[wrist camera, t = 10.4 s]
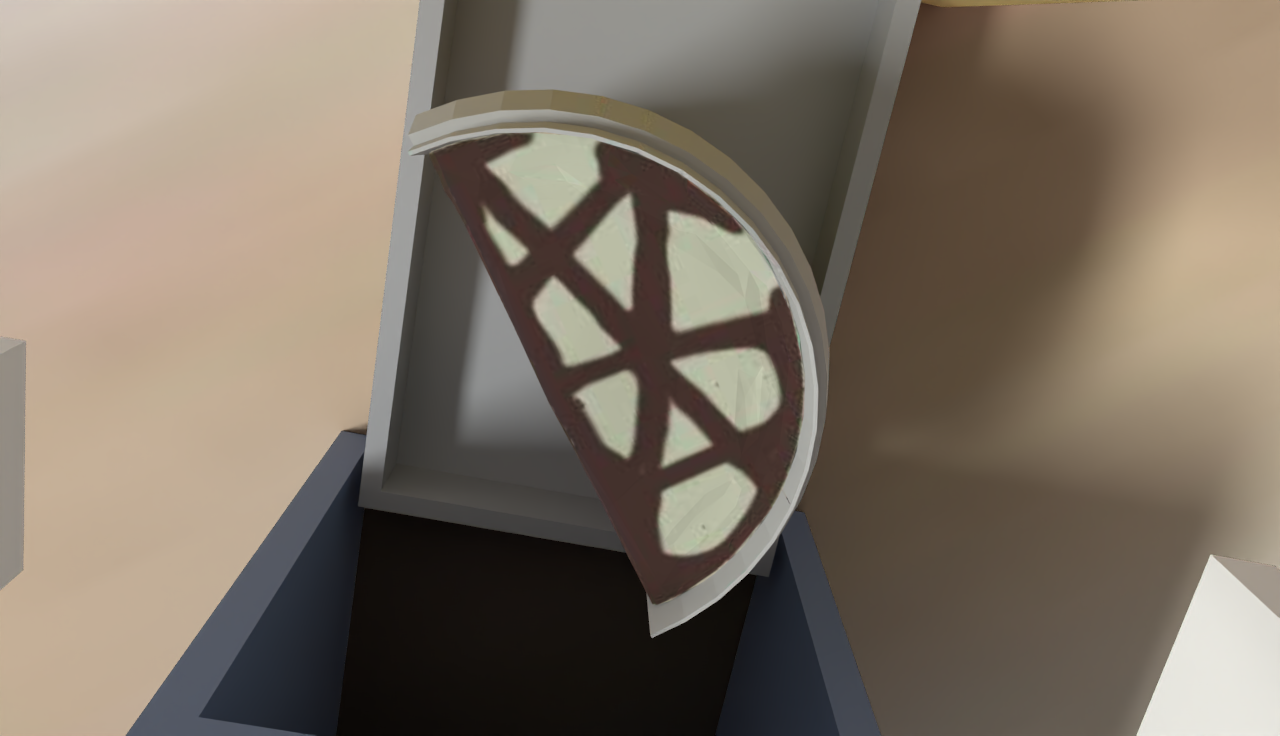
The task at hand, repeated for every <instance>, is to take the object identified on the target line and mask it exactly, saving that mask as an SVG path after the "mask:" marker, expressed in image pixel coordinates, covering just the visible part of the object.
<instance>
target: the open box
mask: <svg viewBox="0 0 1280 736" xmlns="http://www.w3.org/2000/svg"><path fill="white" fill-rule="evenodd" d="M366 436H367V435H362V434H357V433H351V432H345V431H341V433H340V434H339V435H338V437H337V438H336V440H335V441H334V442H333V444H332V445H331V447H330V448H329V450H328V451H327V452H326V454H325V455H324V457H323V458H322V459H321V461H320V462H319V464H318V465H317V466H316V468H315V469H314V471H313V472H312V474H311V475H310V476H309V478H308V479H307V481H306V482H305V483H304V485H303V486H302V488H301V489H300V490H299V492H298V493H297V495H296V496H295V497H294V499H293V500H292V502H291V503H290V505H289V506H288V507H287V509H286V510H285V512H284V513H283V514H282V516H281V517H280V519H279V520H278V521H277V523H276V524H275V526H274V527H273V529H272V530H271V531H270V533H269V534H268V536H267V537H266V538H265V540H264V541H263V543H262V544H261V545H260V547H259V548H258V550H257V551H256V553H255V554H254V555H253V557H252V558H251V560H250V561H249V562H248V564H247V565H246V567H245V568H244V569H243V571H242V572H241V574H240V575H239V577H238V578H237V579H236V581H235V582H234V584H233V585H232V586H231V588H230V589H229V591H228V592H227V593H226V595H225V596H224V598H223V599H222V600H221V602H220V603H219V605H218V606H217V608H216V609H215V610H214V612H213V613H212V615H211V616H210V617H209V619H208V620H207V622H206V623H205V624H204V626H203V627H202V629H201V630H200V632H199V633H198V634H197V636H196V637H195V639H194V640H193V641H192V643H191V644H190V646H189V647H188V648H187V650H186V651H185V653H184V654H183V656H182V657H181V658H180V660H179V661H178V663H177V664H176V665H175V667H174V668H173V670H172V671H171V672H170V674H169V675H168V677H167V678H166V680H165V681H164V682H163V684H162V685H161V687H160V688H159V689H158V691H157V692H156V694H155V695H154V696H153V698H152V699H151V701H150V702H149V703H148V705H147V706H146V708H145V709H144V711H143V712H142V713H141V715H140V716H139V718H138V719H137V720H136V722H135V723H134V725H133V726H132V727H131V729H130V730H129V732H128V733H127V735H126V736H336V733H337V725H338V717H339V709H340V701H341V693H342V685H343V677H344V669H345V661H346V653H347V645H348V637H349V628H350V620H351V612H352V604H353V596H354V588H355V580H356V572H357V564H358V556H359V548H360V540H361V532H362V524H363V516H364V507H359V506H358V502H359V494H360V485H361V477H362V469H363V461H364V453H365V445H366ZM715 736H881V734H880V731H879V728H878V725H877V722H876V719H875V716H874V713H873V711H872V708H871V705H870V702H869V699H868V696H867V693H866V690H865V687H864V684H863V681H862V679H861V676H860V673H859V670H858V667H857V664H856V661H855V658H854V655H853V652H852V649H851V647H850V644H849V641H848V638H847V635H846V632H845V629H844V626H843V623H842V620H841V617H840V615H839V612H838V609H837V606H836V603H835V600H834V597H833V594H832V591H831V588H830V586H829V583H828V580H827V577H826V574H825V571H824V568H823V565H822V562H821V559H820V556H819V554H818V551H817V548H816V545H815V542H814V539H813V536H812V533H811V530H810V527H809V524H808V522H807V519H806V516H805V513H803V512H798V511H794V513H793V514H792V516H791V518H790V519H789V521H788V523H787V525H786V526H785V528H784V530H783V531H782V533H781V534H780V536H779V540H778V544H777V547H776V551H775V555H774V559H773V563H772V566H771V570H770V574H769V577H765V576H759V575H757V576H756V580H755V584H754V588H753V592H752V595H751V599H750V603H749V607H748V611H747V615H746V618H745V622H744V626H743V630H742V634H741V638H740V641H739V645H738V649H737V653H736V657H735V661H734V664H733V668H732V672H731V676H730V680H729V684H728V688H727V691H726V695H725V699H724V703H723V707H722V711H721V714H720V718H719V722H718V726H717V730H716V734H715Z"/></svg>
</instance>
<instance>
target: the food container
mask: <svg viewBox="0 0 1280 736" xmlns="http://www.w3.org/2000/svg"><path fill="white" fill-rule="evenodd" d="M408 136H409V138H410V140H411V142H412V143H413V145H414V146H413V147H412V148H411V149H410V150H409V151H408V154H409V156H413V155H426V154H429V156H430V158H431V161H432V164H433V166H434V168H435V170H436V171H437V173H438V175H439V178H440V181H441V184H442V186H443V189H444V191H445V193H446V194H447V196H448V197H449V198H450V200H451V201H452V203H453V204H454V206H455V208H456V210H457V212H458V214H459V215H460V217H461V219H462V221H463V223H464V225H465V227H466V229H467V231H468V233H469V235H470V237H471V239H472V241H473V243H474V245H475V247H476V249H477V252H478V254H479V256H480V258H481V260H482V262H483V264H484V266H485V268H486V270H487V272H488V274H489V276H490V278H491V281H492V283H493V285H494V287H495V289H496V291H497V293H498V295H499V297H500V299H501V301H502V303H503V305H504V308H505V310H506V312H507V314H508V316H509V318H510V320H511V322H512V324H513V326H514V328H515V331H516V333H517V335H518V337H519V339H520V341H521V344H522V346H523V348H524V350H525V352H526V355H527V357H528V359H529V361H530V363H531V365H532V368H533V370H534V372H535V374H536V376H537V378H538V381H539V383H540V385H541V387H542V389H543V392H544V394H545V396H546V398H547V400H548V402H549V404H550V406H551V408H552V410H553V412H554V413H555V415H556V417H557V419H558V421H559V423H560V425H561V426H562V428H563V430H564V432H565V434H566V436H567V437H568V439H569V441H570V443H571V445H572V447H573V449H574V450H575V452H576V454H577V456H578V458H579V460H580V462H581V464H582V466H583V468H584V470H585V472H586V474H587V476H588V478H589V479H590V481H591V483H592V485H593V487H594V489H595V491H596V493H597V495H598V497H599V499H600V501H601V503H602V505H603V507H604V509H605V511H606V513H607V515H608V517H609V519H610V521H611V523H612V525H613V527H614V529H615V531H616V533H617V535H618V537H619V539H620V541H621V543H622V545H623V547H624V549H625V551H626V553H627V555H628V557H629V559H630V561H631V563H632V565H633V567H634V569H635V571H636V573H637V575H638V577H639V579H640V581H641V583H642V585H643V587H644V589H645V591H646V593H647V604H648V615H649V626H650V635H651V637H652V638H653V637H655V636H657V635H659V634H662V633H664V632H666V631H668V630H670V629H672V628H674V627H676V626H678V625H680V624H682V623H685V622H686V621H688V620H689V619H691V618H692V617H694V616H695V615H697V614H698V613H700V612H702V611H703V610H705V609H706V608H708V607H709V606H711V605H712V604H714V603H715V602H717V601H718V600H720V599H721V598H722V597H723V596H724V595H725V594H726V593H727V592H728V591H730V590H731V589H732V588H733V587H734V586H735V585H736V584H737V583H738V582H740V581H741V580H742V579H743V578H744V577H745V576H746V575H747V574H748V573H749V572H750V571H751V570H752V569H753V567H754V566H755V565H756V564H757V563H758V561H759V560H760V559H761V558H762V556H763V555H764V554H765V553H766V552H767V550H768V549H769V548H770V547H771V545H772V544H773V543H774V542H775V541H776V539H777V538H778V537H779V536H780V534H781V533H782V531H783V530H784V528H785V526H786V525H787V523H788V521H789V519H790V518H791V516H792V514H793V513H794V511H795V509H796V508H797V506H798V504H799V503H800V501H801V499H802V497H803V494H804V492H805V489H806V487H807V484H808V482H809V479H810V476H811V474H812V471H813V469H814V466H815V464H816V461H817V457H818V452H819V448H820V443H821V438H822V433H823V429H824V424H825V419H826V410H827V400H828V382H829V355H830V352H829V344H828V337H827V329H826V321H825V314H824V308H823V305H822V302H821V299H820V295H819V292H818V289H817V286H816V282H815V279H814V276H813V272H812V269H811V267H810V265H809V263H808V261H807V259H806V257H805V255H804V253H803V251H802V249H801V247H800V245H799V243H798V241H797V239H796V237H795V235H794V233H793V231H792V229H791V227H790V226H789V225H788V223H787V222H786V221H785V219H784V218H783V216H782V215H781V214H780V212H779V211H778V210H777V208H776V207H775V205H774V204H773V203H772V201H771V200H770V199H769V197H768V196H767V194H766V193H765V192H764V191H763V190H762V189H761V188H760V187H759V186H758V185H757V184H756V183H755V182H754V181H753V180H752V179H751V178H750V177H749V176H748V175H747V174H746V173H745V172H744V171H743V170H742V169H741V168H740V167H739V166H738V165H737V164H736V163H735V162H734V161H733V160H732V159H731V158H729V157H728V156H727V155H725V154H724V153H722V152H721V151H720V150H718V149H717V148H715V147H714V146H712V145H711V144H710V143H708V142H707V141H705V140H704V139H703V138H701V137H700V136H698V135H697V134H695V133H694V132H693V131H691V130H689V129H687V128H685V127H683V126H680V125H678V124H676V123H674V122H672V121H670V120H668V119H666V118H664V117H662V116H660V115H658V114H656V113H654V112H652V111H650V110H647V109H644V108H640V107H637V106H634V105H630V104H627V103H624V102H621V101H617V100H614V99H611V98H607V97H604V96H599V95H591V94H584V93H576V92H569V91H561V90H554V89H551V90H516V91H501V92H496V93H491V94H485V95H480V96H475V97H470V98H465V99H459V100H455V101H453V102H450V103H447V104H444V105H442V106H439V107H436V108H433V109H431V110H428V111H425V112H423V113H420V114H417V115H416V116H415V119H414V121H413V124H412V126H411V129H410V131H409V134H408Z"/></svg>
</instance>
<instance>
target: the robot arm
mask: <svg viewBox="0 0 1280 736" xmlns="http://www.w3.org/2000/svg"><path fill="white" fill-rule="evenodd" d="M25 381H26V341H24V340H18V339H13V338H7V337H2V336H0V590H1V589H2V588H3V587H5V586H6V585H7V584H8V583H9V582H10V581H11V580H12V579H14V578H15V577H16V576H17V575H18V574H19V573H20V572H21V571H23V550H24V466H25ZM1136 736H1280V570H1279V569H1278V568H1277V567H1276V566H1273V565H1268V564H1262V563H1256V562H1251V561H1245V560H1240V559H1234V558H1229V557H1223V556H1218V555H1212V554H1211V555H1210V557H1209V560H1208V562H1207V565H1206V567H1205V569H1204V572H1203V574H1202V577H1201V579H1200V582H1199V584H1198V587H1197V589H1196V591H1195V594H1194V596H1193V599H1192V601H1191V604H1190V606H1189V608H1188V611H1187V613H1186V616H1185V618H1184V621H1183V623H1182V626H1181V628H1180V630H1179V633H1178V635H1177V638H1176V640H1175V643H1174V645H1173V647H1172V650H1171V652H1170V655H1169V657H1168V660H1167V662H1166V665H1165V667H1164V669H1163V672H1162V674H1161V677H1160V679H1159V682H1158V684H1157V686H1156V689H1155V691H1154V694H1153V696H1152V699H1151V701H1150V704H1149V706H1148V708H1147V711H1146V713H1145V716H1144V718H1143V721H1142V723H1141V725H1140V728H1139V730H1138V733H1137V735H1136Z"/></svg>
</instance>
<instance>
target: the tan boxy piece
mask: <svg viewBox="0 0 1280 736" xmlns="http://www.w3.org/2000/svg"><path fill="white" fill-rule="evenodd" d="M1107 1H1136V0H420V3H419V11H418V20H417V28H416V36H415V44H414V52H413V60H412V69H411V77H410V85H409V93H408V101H407V109H406V118H405V126H404V134H403V142H402V150H401V159H400V167H399V175H398V183H397V191H396V199H395V208H394V216H393V224H392V232H391V240H390V248H389V257H388V265H387V273H386V281H385V289H384V297H383V306H382V314H381V322H380V330H379V338H378V346H377V355H376V363H375V371H374V379H373V387H372V396H371V404H370V412H369V420H368V428H367V436H366V445H365V453H364V461H363V469H362V477H361V485H360V494H359V502H358V506H359V507H364V508H370V509H376V510H382V511H388V512H393V513H399V514H405V515H411V516H417V517H422V518H428V519H434V520H440V521H446V522H451V523H457V524H463V525H469V526H475V527H480V528H486V529H492V530H498V531H504V532H509V533H515V534H521V535H527V536H533V537H539V538H544V539H550V540H556V541H562V542H568V543H573V544H579V545H585V546H591V547H597V548H602V549H608V550H614V551H620V552H626V551H625V549H624V547H623V545H622V543H621V541H620V539H619V537H618V535H617V533H616V531H615V529H614V527H613V525H612V523H611V521H610V519H609V517H608V515H607V513H606V511H605V509H604V507H603V505H602V503H601V501H600V499H599V497H598V495H597V493H596V491H595V489H594V487H593V485H592V483H591V481H590V479H589V478H588V476H587V474H586V472H585V470H584V468H583V466H582V464H581V462H580V460H579V458H578V456H577V454H576V452H575V450H574V449H573V447H572V445H571V443H570V441H569V439H568V437H567V436H566V434H565V432H564V430H563V428H562V426H561V425H560V423H559V421H558V419H557V417H556V415H555V413H554V412H553V410H552V408H551V406H550V404H549V402H548V400H547V398H546V396H545V394H544V392H543V389H542V387H541V385H540V383H539V381H538V378H537V376H536V374H535V372H534V370H533V368H532V365H531V363H530V361H529V359H528V357H527V355H526V352H525V350H524V348H523V346H522V344H521V341H520V339H519V337H518V335H517V333H516V331H515V328H514V326H513V324H512V322H511V320H510V318H509V316H508V314H507V312H506V310H505V308H504V305H503V303H502V301H501V299H500V297H499V295H498V293H497V291H496V289H495V287H494V285H493V283H492V281H491V278H490V276H489V274H488V272H487V270H486V268H485V266H484V264H483V262H482V260H481V258H480V256H479V254H478V252H477V249H476V247H475V245H474V243H473V241H472V239H471V237H470V235H469V233H468V231H467V229H466V227H465V225H464V223H463V221H462V219H461V217H460V215H459V214H458V212H457V210H456V208H455V206H454V204H453V203H452V201H451V200H450V198H449V197H448V196H447V194H446V193H445V191H444V189H443V186H442V184H441V181H440V178H439V175H438V173H437V171H436V170H435V168H434V166H433V164H432V161H431V158H430V156H429V154H426V155H413V156H409V154H408V151H409V150H410V149H411V148H412V147H413V146H414V145H413V143H412V142H411V140H410V138H409V136H408V134H409V131H410V129H411V126H412V124H413V121H414V119H415V116H416V115H417V114H420V113H423V112H425V111H428V110H431V109H433V108H436V107H439V106H442V105H444V104H447V103H450V102H453V101H455V100H459V99H465V98H470V97H475V96H480V95H485V94H491V93H496V92H501V91H516V90H551V89H554V90H561V91H569V92H576V93H584V94H591V95H599V96H604V97H607V98H611V99H614V100H617V101H621V102H624V103H627V104H630V105H634V106H637V107H640V108H644V109H647V110H650V111H652V112H654V113H656V114H658V115H660V116H662V117H664V118H666V119H668V120H670V121H672V122H674V123H676V124H678V125H680V126H683V127H685V128H687V129H689V130H691V131H693V132H694V133H695V134H697V135H698V136H700V137H701V138H703V139H704V140H705V141H707V142H708V143H710V144H711V145H712V146H714V147H715V148H717V149H718V150H720V151H721V152H722V153H724V154H725V155H727V156H728V157H729V158H731V159H732V160H733V161H734V162H735V163H736V164H737V165H738V166H739V167H740V168H741V169H742V170H743V171H744V172H745V173H746V174H747V175H748V176H749V177H750V178H751V179H752V180H753V181H754V182H755V183H756V184H757V185H758V186H759V187H760V188H761V189H762V190H763V191H764V192H765V193H766V194H767V196H768V197H769V199H770V200H771V201H772V203H773V204H774V205H775V207H776V208H777V210H778V211H779V212H780V214H781V215H782V216H783V218H784V219H785V221H786V222H787V223H788V225H789V226H790V227H791V229H792V231H793V233H794V235H795V237H796V239H797V241H798V243H799V245H800V247H801V249H802V251H803V253H804V255H805V257H806V259H807V261H808V263H809V265H810V267H811V269H812V272H813V276H814V279H815V282H816V286H817V289H818V292H819V295H820V299H821V302H822V305H823V308H824V314H825V321H826V329H827V337H828V344H829V347H830V343H831V340H832V336H833V332H834V328H835V325H836V321H837V317H838V313H839V309H840V306H841V302H842V298H843V294H844V291H845V287H846V283H847V279H848V275H849V272H850V268H851V264H852V260H853V257H854V253H855V249H856V245H857V241H858V238H859V234H860V230H861V226H862V223H863V219H864V215H865V211H866V207H867V204H868V200H869V196H870V192H871V189H872V185H873V181H874V177H875V173H876V170H877V166H878V162H879V158H880V155H881V151H882V147H883V143H884V140H885V136H886V132H887V128H888V124H889V121H890V117H891V113H892V109H893V106H894V102H895V98H896V94H897V90H898V87H899V83H900V79H901V75H902V72H903V68H904V64H905V60H906V56H907V53H908V49H909V45H910V41H911V38H912V34H913V30H914V26H915V22H916V19H917V15H918V11H919V7H920V4H921V3H926V4H930V5H935V6H940V7H964V6H993V5H1021V4H1050V3H1079V2H1107ZM778 540H779V537H778V538H777V539H776V541H775V542H774V543H773V544H772V545H771V547H770V548H769V549H768V550H767V552H766V553H765V554H764V555H763V556H762V558H761V559H760V560H759V561H758V563H757V564H756V565H755V566H754V567H753V569H752V570H751V571H750V572H749V573H748V574H753V575H759V576H765V577H769V574H770V570H771V566H772V563H773V559H774V555H775V551H776V547H777V544H778Z"/></svg>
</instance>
